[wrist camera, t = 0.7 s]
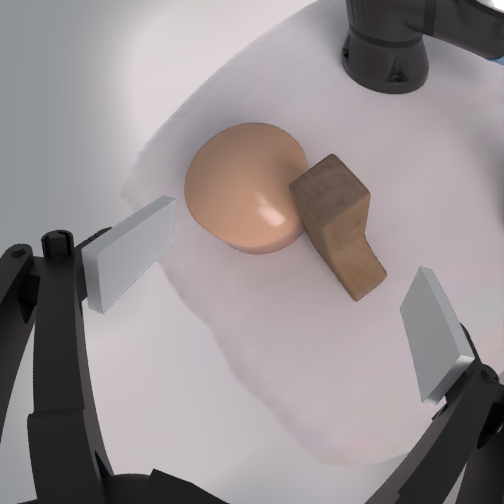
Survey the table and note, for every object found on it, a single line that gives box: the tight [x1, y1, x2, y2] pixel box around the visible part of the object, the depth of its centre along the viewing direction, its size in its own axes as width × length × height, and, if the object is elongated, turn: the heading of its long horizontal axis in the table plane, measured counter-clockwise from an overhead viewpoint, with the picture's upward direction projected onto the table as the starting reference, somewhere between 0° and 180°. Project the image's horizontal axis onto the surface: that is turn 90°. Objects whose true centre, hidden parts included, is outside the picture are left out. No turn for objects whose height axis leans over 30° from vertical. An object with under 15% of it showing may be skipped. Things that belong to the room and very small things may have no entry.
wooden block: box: [289, 154, 387, 301], centre depth 29 cm, size 9×4×18 cm, turn 33°
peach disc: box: [185, 123, 309, 254], centre depth 39 cm, size 15×15×8 cm
